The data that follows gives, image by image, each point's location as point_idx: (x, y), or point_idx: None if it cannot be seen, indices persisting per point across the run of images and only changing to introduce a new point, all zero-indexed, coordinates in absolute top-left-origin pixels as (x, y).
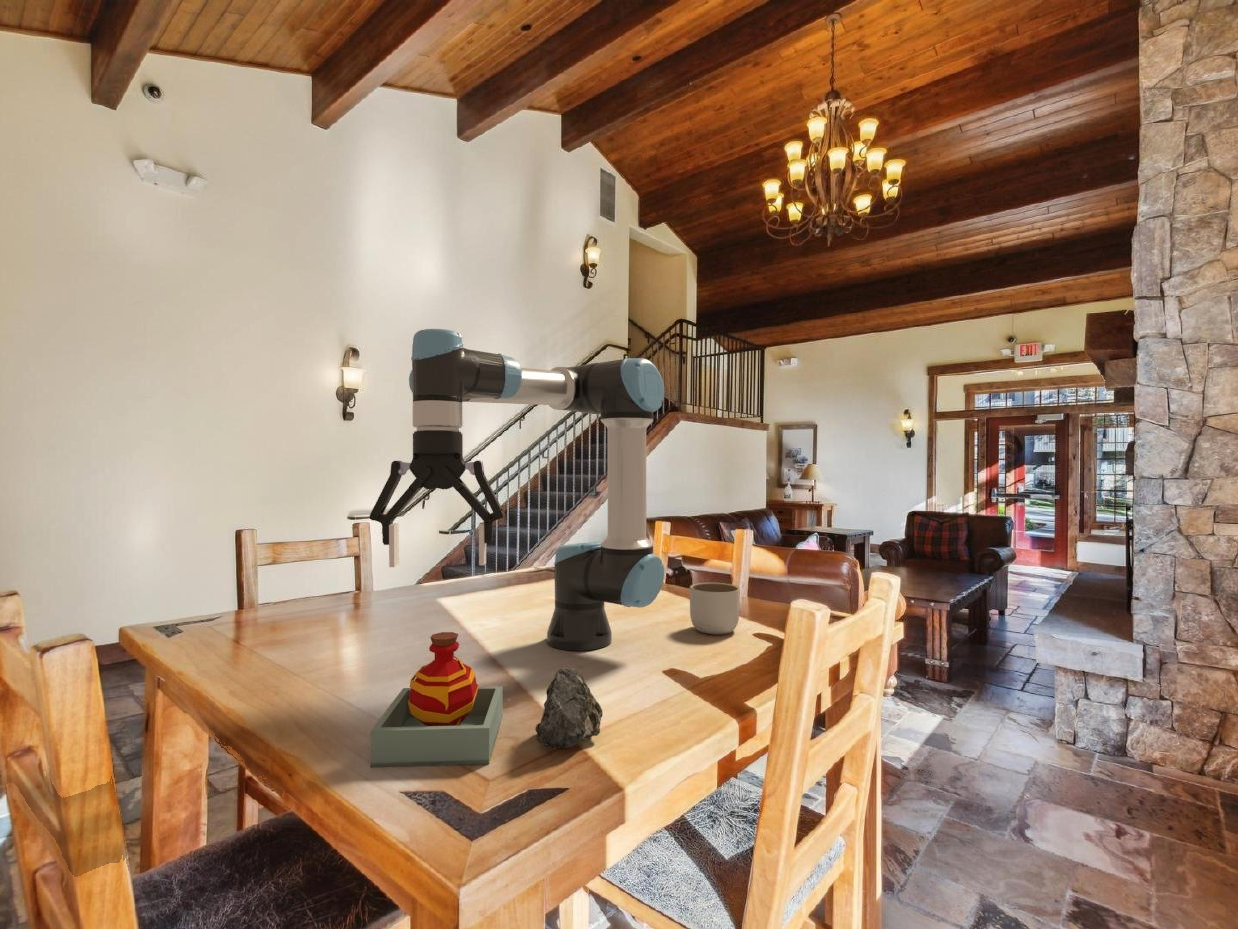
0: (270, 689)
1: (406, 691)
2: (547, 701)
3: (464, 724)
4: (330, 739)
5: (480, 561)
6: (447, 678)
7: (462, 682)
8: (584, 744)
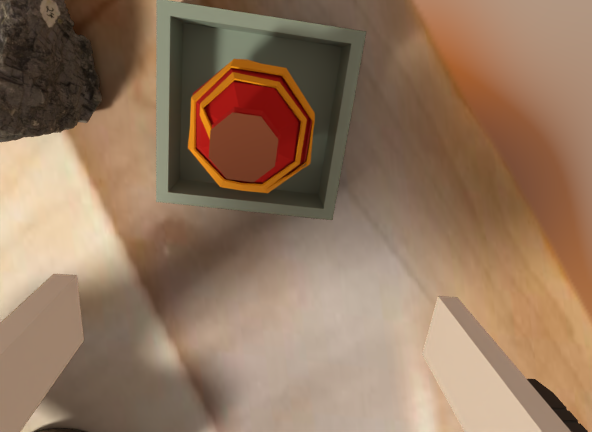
0: (521, 334)
1: (325, 203)
2: (35, 40)
3: None
4: (421, 148)
5: (59, 283)
6: (235, 77)
7: (206, 87)
8: None
